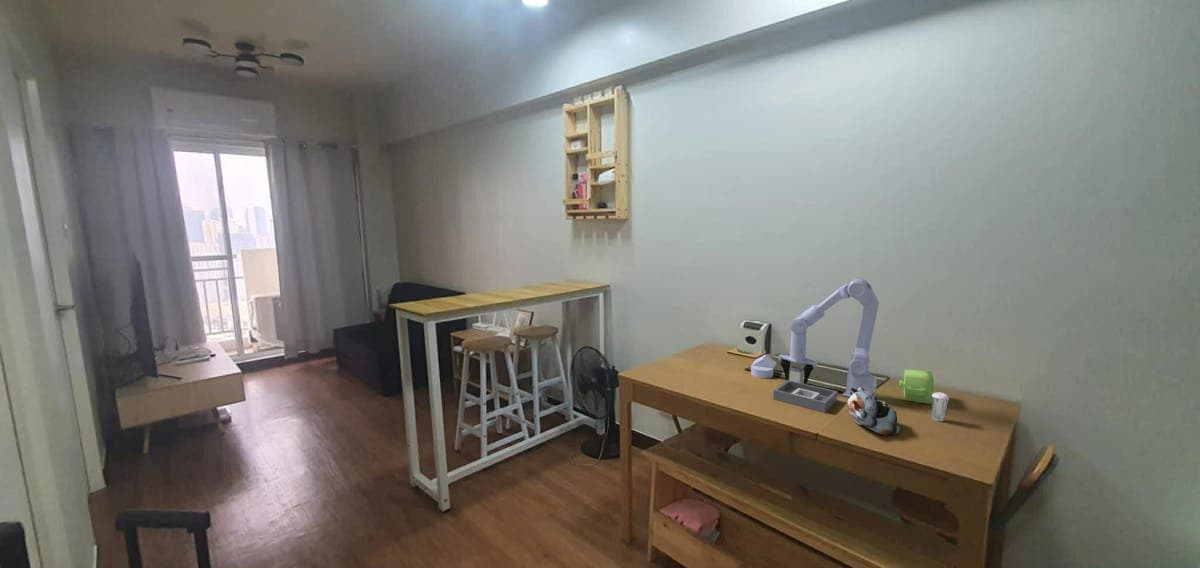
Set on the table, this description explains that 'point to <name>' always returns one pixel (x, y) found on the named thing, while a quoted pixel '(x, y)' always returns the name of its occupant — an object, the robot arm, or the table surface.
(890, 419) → the lucky cat figurine
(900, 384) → the gearbox
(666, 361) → the table surface
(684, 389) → the table surface
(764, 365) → the wedge on round base
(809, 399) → the housing
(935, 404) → the milkshake
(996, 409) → the table surface
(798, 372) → the block
